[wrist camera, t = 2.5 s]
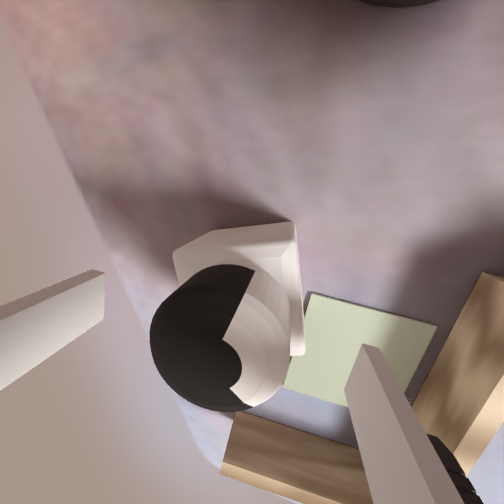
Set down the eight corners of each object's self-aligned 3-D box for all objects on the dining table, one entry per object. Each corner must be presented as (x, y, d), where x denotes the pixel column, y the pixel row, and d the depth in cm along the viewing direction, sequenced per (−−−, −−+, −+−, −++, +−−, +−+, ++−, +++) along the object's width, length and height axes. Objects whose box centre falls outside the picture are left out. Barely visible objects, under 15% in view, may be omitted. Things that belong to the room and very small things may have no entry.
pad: (311, 292, 21) (311, 294, 20) (435, 325, 20) (437, 327, 19) (282, 384, 23) (282, 387, 23) (389, 417, 22) (390, 420, 22)
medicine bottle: (223, 306, 22) (149, 431, 11) (210, 229, 21) (105, 283, 9) (302, 302, 21) (312, 441, 10) (295, 220, 19) (295, 269, 8)
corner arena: (282, 224, 20) (278, 237, 15) (503, 277, 18) (579, 310, 13) (233, 420, 26) (219, 473, 21) (394, 473, 24) (419, 544, 19)
